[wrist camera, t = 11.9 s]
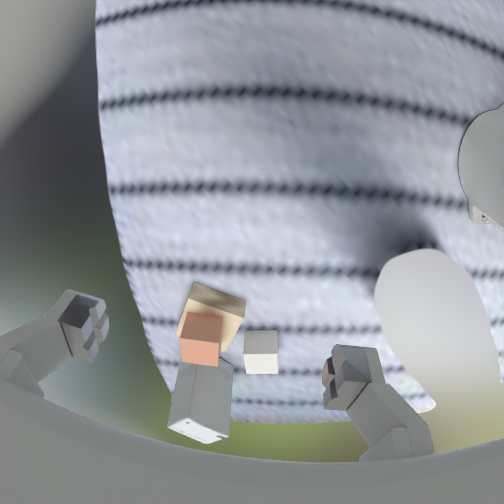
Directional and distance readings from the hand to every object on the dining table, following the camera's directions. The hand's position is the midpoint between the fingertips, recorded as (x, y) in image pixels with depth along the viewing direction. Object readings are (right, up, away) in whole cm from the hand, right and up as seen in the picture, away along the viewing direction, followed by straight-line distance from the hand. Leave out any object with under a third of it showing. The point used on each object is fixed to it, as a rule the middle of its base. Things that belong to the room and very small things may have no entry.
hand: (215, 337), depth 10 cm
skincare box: (-6, -17, +43) cm, 46 cm away
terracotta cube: (-5, -8, +33) cm, 34 cm away
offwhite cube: (+3, -12, +39) cm, 41 cm away
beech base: (-5, -6, +36) cm, 37 cm away
